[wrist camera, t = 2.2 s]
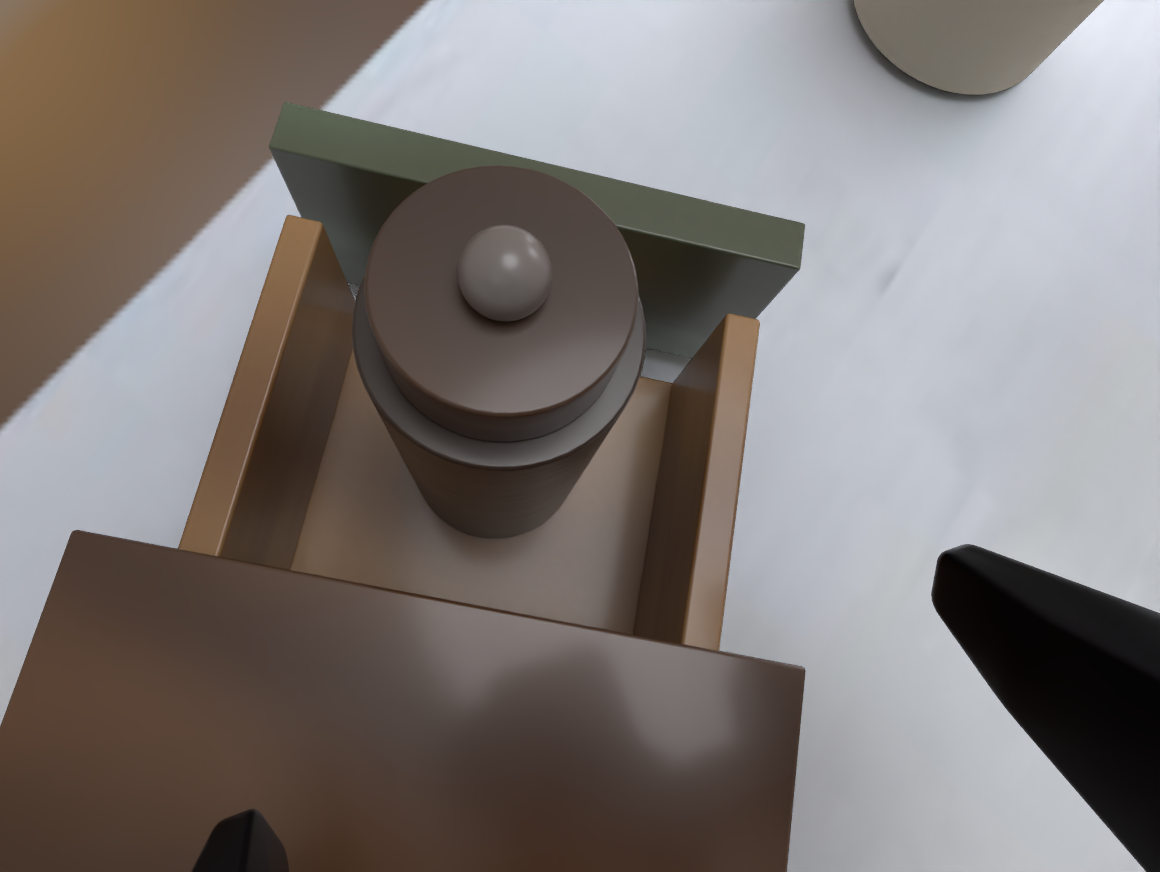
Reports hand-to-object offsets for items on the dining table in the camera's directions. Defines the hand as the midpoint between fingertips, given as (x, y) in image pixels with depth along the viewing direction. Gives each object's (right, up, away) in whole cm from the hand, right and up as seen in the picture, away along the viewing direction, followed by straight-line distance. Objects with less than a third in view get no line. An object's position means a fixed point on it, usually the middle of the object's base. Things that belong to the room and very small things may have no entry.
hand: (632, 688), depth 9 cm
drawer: (-3, +3, +12) cm, 13 cm away
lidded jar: (-3, +3, +11) cm, 11 cm away
